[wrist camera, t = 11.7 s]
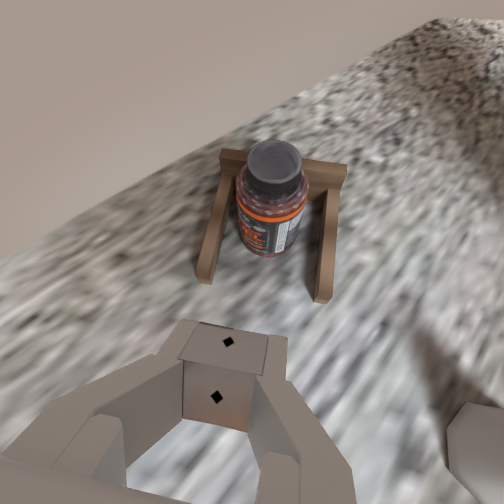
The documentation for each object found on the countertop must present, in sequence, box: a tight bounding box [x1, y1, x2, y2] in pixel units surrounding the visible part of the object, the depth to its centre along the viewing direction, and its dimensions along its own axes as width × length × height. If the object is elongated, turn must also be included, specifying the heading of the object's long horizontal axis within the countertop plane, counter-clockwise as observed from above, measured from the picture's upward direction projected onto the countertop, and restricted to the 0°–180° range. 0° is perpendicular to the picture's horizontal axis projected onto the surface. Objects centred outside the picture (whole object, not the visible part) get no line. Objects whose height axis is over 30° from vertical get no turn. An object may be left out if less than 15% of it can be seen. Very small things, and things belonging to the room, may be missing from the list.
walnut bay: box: [195, 149, 347, 304], centre depth 29 cm, size 13×12×5 cm
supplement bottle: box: [236, 140, 309, 257], centre depth 27 cm, size 6×6×11 cm
